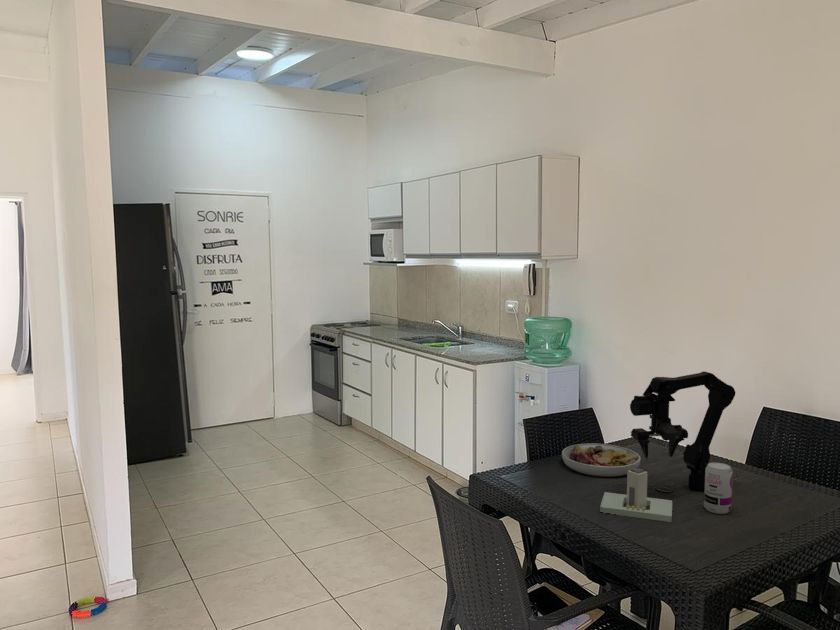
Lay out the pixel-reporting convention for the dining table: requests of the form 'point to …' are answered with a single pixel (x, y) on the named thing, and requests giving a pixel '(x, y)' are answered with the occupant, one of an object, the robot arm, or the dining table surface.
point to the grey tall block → (637, 488)
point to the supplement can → (718, 488)
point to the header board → (657, 511)
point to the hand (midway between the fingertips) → (658, 457)
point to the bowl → (600, 459)
